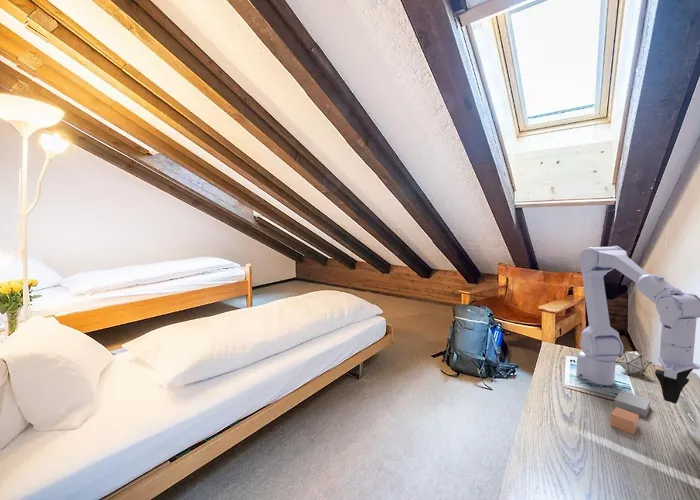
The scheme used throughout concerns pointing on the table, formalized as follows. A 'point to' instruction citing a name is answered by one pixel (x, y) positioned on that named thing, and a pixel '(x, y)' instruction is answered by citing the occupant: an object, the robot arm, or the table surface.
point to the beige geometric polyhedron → (633, 362)
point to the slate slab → (632, 403)
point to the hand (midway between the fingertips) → (673, 395)
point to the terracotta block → (624, 420)
